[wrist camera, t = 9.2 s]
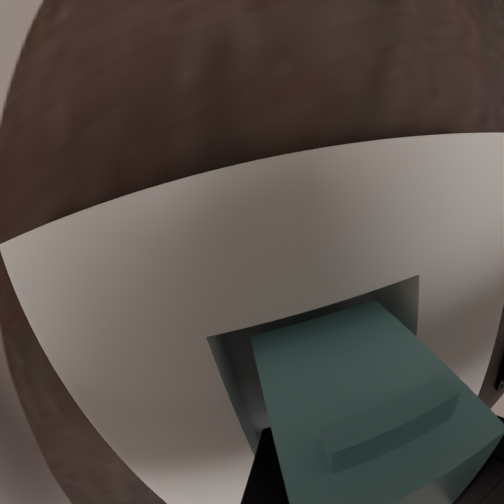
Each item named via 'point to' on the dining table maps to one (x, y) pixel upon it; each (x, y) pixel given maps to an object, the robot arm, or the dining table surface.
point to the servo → (369, 412)
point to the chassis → (258, 288)
